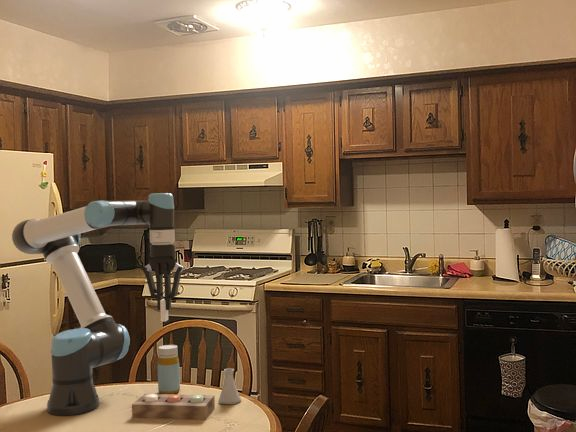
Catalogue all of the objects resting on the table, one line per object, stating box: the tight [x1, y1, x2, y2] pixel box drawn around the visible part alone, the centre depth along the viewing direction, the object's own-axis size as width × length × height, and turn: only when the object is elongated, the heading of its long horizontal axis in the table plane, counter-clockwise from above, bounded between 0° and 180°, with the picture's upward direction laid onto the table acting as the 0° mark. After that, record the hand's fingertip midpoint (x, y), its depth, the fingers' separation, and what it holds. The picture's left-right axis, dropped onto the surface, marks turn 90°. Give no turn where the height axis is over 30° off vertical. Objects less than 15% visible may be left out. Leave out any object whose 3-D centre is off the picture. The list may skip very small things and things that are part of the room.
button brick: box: [167, 394, 181, 402], centre depth 183 cm, size 4×4×4 cm
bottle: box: [157, 344, 181, 394], centre depth 204 cm, size 7×7×15 cm
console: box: [131, 393, 216, 421], centre depth 183 cm, size 22×10×4 cm, turn 82°
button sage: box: [190, 394, 203, 403], centre depth 182 cm, size 4×4×4 cm
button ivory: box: [145, 393, 158, 402], centre depth 184 cm, size 4×4×4 cm
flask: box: [218, 368, 242, 405], centre depth 193 cm, size 7×7×10 cm
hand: (164, 320), depth 189 cm, fingers closed
